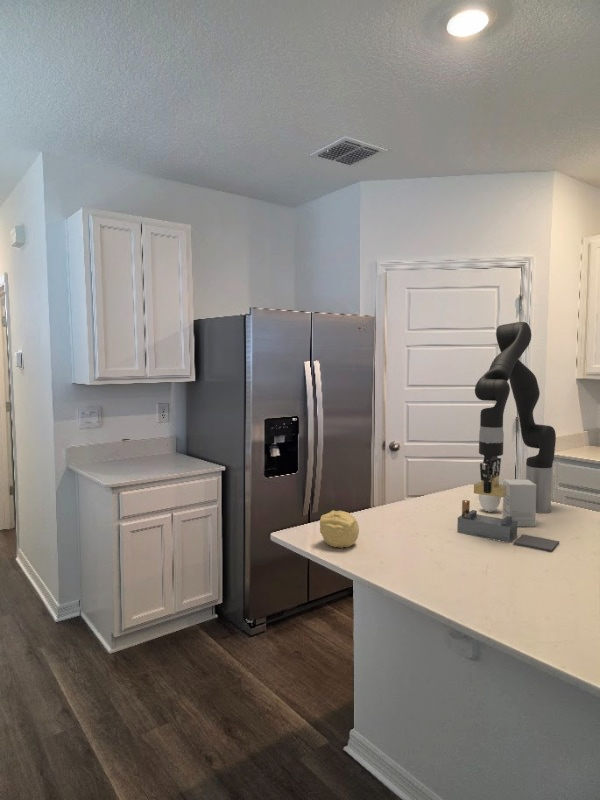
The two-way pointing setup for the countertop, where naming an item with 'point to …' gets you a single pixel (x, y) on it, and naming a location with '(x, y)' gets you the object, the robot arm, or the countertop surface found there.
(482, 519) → the grey block holder tray
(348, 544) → the pale yellow lumpy ball
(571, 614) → the countertop surface
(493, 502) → the white ovoid vessel
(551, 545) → the rubber mat
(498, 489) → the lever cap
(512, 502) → the supplement box
